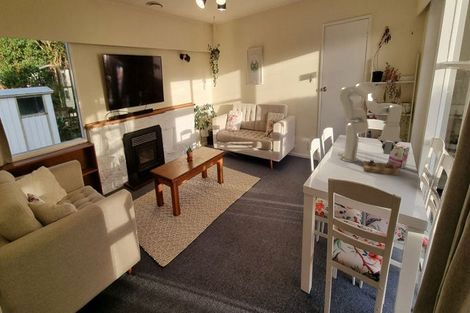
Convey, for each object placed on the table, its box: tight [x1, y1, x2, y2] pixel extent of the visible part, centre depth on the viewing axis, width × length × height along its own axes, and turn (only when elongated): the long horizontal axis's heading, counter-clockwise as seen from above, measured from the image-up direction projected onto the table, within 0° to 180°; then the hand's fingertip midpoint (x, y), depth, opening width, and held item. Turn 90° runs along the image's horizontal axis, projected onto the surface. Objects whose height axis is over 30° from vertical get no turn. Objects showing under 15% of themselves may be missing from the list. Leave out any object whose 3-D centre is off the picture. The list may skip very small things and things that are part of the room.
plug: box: [382, 141, 392, 155], centre depth 168 cm, size 4×4×8 cm
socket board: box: [362, 159, 400, 176], centre depth 183 cm, size 22×14×4 cm, turn 65°
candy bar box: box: [387, 143, 410, 170], centre depth 186 cm, size 11×5×16 cm, turn 21°
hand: (387, 149), depth 168 cm, fingers closed on plug, 4 cm apart
